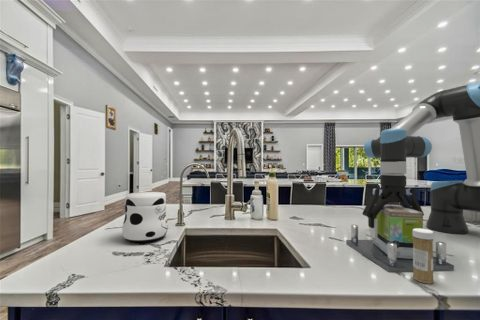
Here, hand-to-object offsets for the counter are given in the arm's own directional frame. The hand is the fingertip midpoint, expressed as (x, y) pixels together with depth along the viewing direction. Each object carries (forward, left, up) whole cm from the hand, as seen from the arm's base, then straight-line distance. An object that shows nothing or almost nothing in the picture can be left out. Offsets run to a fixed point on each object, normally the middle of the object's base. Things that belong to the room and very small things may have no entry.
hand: (392, 237), depth 82 cm
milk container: (+89, -23, -6) cm, 92 cm away
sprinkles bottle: (+4, +17, -6) cm, 19 cm away
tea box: (-1, 0, -5) cm, 5 cm away
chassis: (0, 0, -6) cm, 6 cm away
